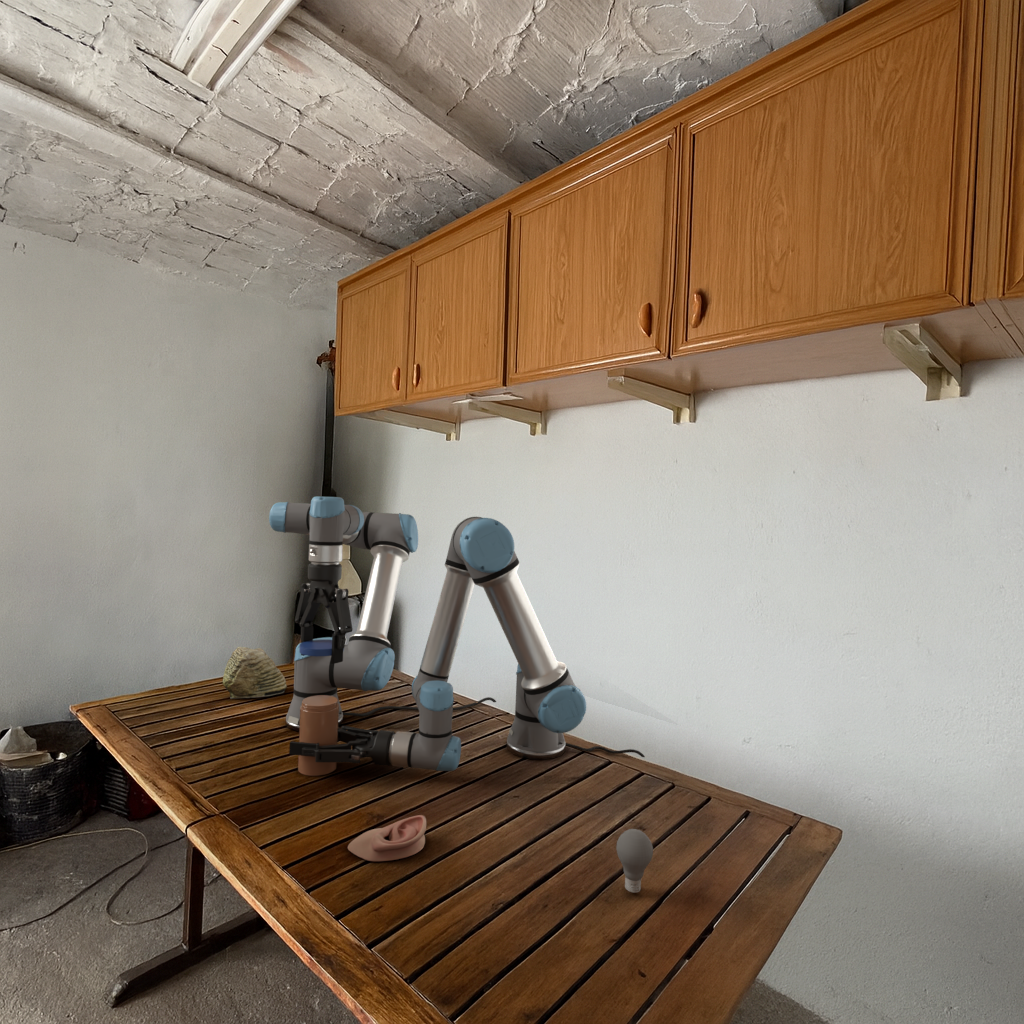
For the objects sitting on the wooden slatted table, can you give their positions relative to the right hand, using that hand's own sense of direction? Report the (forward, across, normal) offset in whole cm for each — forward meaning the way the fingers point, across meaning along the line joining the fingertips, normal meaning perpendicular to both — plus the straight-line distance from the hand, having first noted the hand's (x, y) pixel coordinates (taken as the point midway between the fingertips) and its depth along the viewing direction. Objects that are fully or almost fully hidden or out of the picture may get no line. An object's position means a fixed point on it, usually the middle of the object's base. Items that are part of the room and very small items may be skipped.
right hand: (299, 740), depth 148 cm
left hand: (-5, 0, +20) cm, 20 cm away
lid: (-5, 0, +22) cm, 23 cm away
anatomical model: (-31, -29, -6) cm, 43 cm away
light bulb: (-74, -35, -6) cm, 82 cm away
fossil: (+36, +46, -6) cm, 59 cm away
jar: (-5, 0, -6) cm, 8 cm away
